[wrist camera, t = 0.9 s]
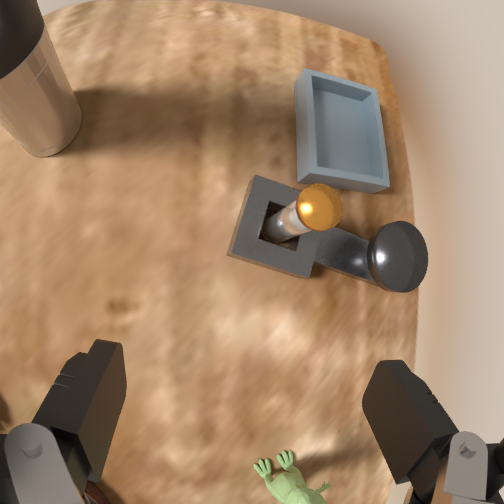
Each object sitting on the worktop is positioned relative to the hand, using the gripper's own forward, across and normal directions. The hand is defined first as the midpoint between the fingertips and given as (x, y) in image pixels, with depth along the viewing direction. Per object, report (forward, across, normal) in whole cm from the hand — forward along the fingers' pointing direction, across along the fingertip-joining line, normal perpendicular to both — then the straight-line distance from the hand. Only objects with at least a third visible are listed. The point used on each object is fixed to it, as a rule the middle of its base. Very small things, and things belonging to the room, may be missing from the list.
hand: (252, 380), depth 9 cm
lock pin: (+30, -5, +3) cm, 30 cm away
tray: (+37, -13, -10) cm, 41 cm away
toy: (+16, -9, +32) cm, 37 cm away
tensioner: (+30, -11, +4) cm, 32 cm away
